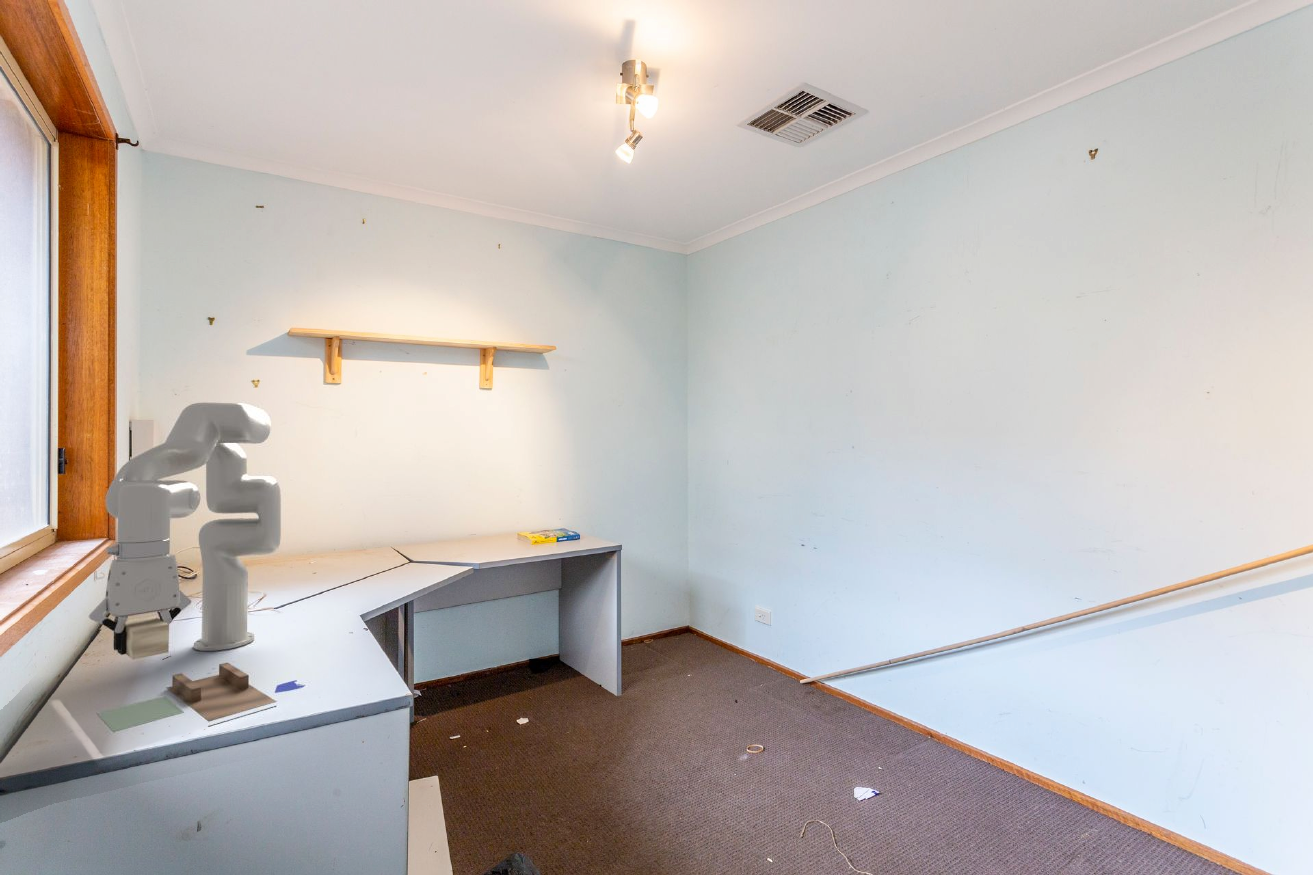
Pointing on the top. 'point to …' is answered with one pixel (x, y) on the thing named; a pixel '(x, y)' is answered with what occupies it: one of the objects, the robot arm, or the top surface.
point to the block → (146, 637)
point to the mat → (139, 713)
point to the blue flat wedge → (288, 686)
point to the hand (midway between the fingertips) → (141, 647)
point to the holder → (219, 693)
